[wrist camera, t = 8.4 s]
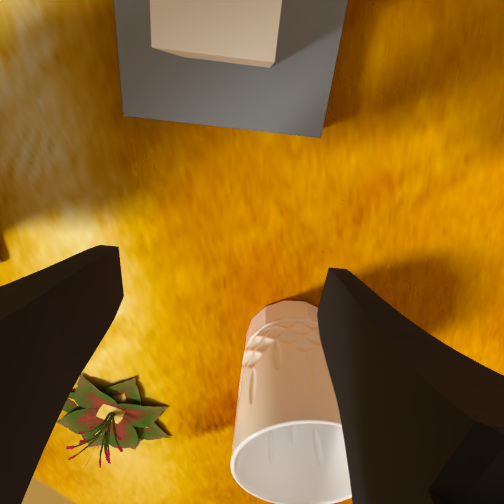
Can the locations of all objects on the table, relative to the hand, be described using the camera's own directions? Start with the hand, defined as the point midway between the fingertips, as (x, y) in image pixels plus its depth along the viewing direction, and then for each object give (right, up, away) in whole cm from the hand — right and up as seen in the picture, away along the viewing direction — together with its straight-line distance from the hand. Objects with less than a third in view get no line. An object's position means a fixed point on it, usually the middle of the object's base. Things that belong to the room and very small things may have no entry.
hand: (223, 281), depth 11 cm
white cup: (+4, -5, +14) cm, 16 cm away
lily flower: (-12, -14, +20) cm, 27 cm away
